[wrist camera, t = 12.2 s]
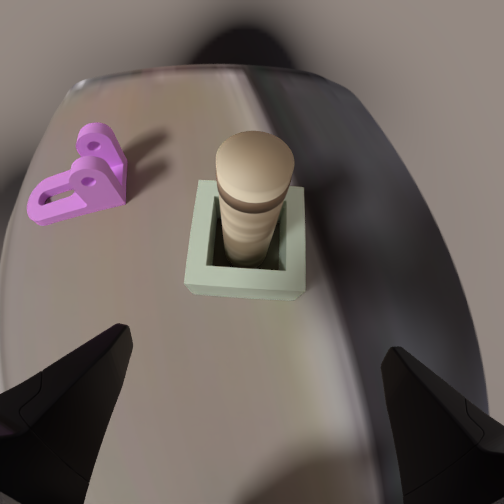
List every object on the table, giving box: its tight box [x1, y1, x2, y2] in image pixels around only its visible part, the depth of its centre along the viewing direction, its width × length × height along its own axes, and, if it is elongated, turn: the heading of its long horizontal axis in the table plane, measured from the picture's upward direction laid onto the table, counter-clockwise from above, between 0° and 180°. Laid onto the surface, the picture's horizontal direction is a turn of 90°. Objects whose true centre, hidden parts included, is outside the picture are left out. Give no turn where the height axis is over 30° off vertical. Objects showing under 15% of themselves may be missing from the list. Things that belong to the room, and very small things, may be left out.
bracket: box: [27, 123, 127, 226], centre depth 22 cm, size 13×6×7 cm, turn 101°
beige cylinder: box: [216, 131, 294, 269], centre depth 18 cm, size 4×4×12 cm
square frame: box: [184, 180, 306, 301], centre depth 22 cm, size 8×8×4 cm
